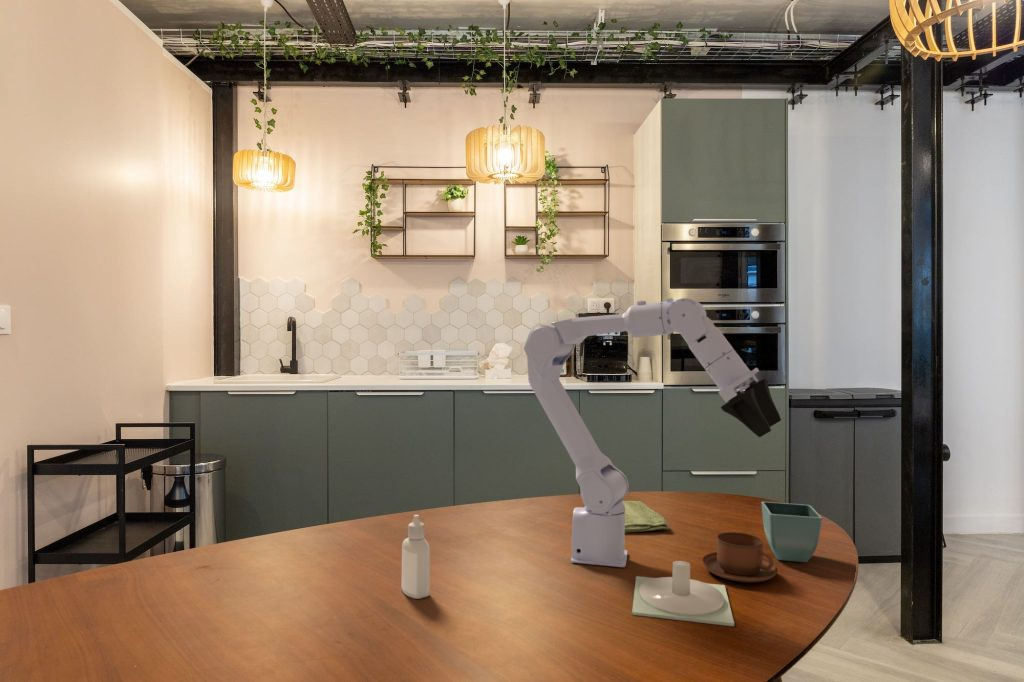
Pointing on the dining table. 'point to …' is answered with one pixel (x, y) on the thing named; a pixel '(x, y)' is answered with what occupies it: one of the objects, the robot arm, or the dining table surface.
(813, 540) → the flower pot
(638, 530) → the washcloth
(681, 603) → the lid
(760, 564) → the cup and saucer
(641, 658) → the dining table surface
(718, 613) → the plate
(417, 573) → the eye dropper bottle
